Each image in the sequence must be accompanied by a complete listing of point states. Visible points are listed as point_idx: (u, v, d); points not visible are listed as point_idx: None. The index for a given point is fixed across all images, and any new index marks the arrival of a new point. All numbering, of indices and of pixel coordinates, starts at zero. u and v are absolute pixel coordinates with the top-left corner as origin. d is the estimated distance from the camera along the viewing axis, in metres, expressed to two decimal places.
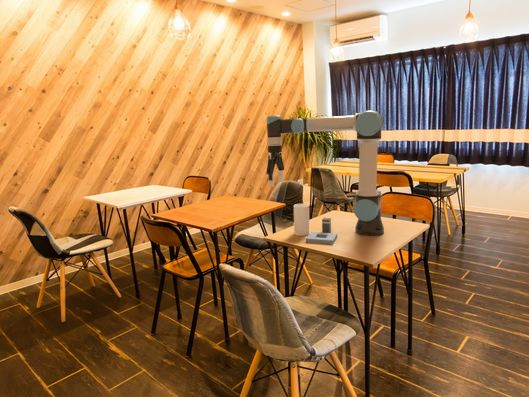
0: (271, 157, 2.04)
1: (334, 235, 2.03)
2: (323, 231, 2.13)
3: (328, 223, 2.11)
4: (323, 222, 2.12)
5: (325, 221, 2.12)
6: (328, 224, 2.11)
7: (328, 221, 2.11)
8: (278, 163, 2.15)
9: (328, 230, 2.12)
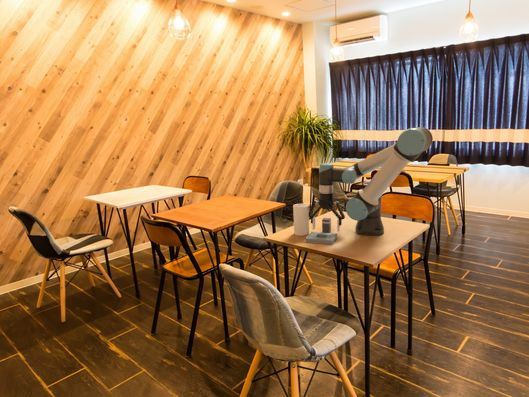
0: None
1: (334, 235, 2.03)
2: (323, 231, 2.13)
3: (328, 223, 2.11)
4: (323, 222, 2.12)
5: (325, 221, 2.12)
6: (328, 224, 2.11)
7: (328, 221, 2.11)
8: None
9: (328, 230, 2.12)
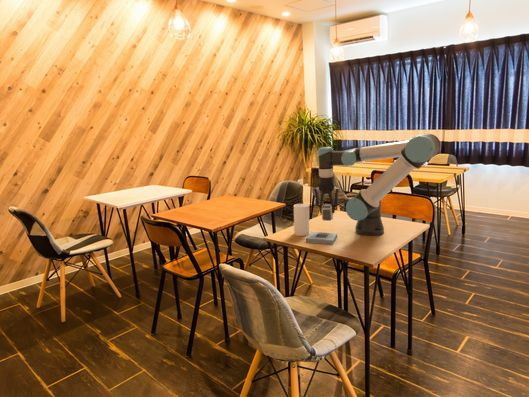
0: None
1: (334, 235, 2.03)
2: (324, 217, 2.11)
3: (329, 209, 2.09)
4: (324, 208, 2.10)
5: (326, 207, 2.10)
6: (329, 210, 2.10)
7: (329, 207, 2.09)
8: None
9: (329, 216, 2.10)
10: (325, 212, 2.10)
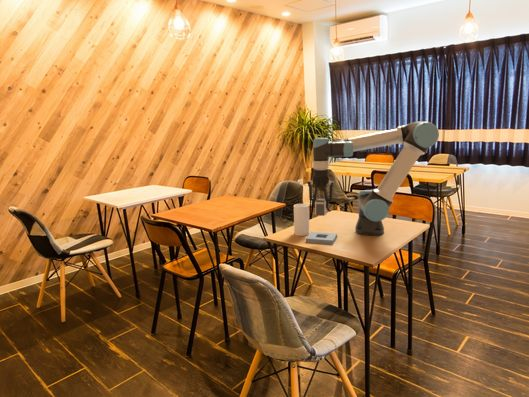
0: None
1: (334, 235, 2.03)
2: (317, 212, 2.00)
3: (322, 204, 1.98)
4: (317, 202, 1.98)
5: (319, 201, 1.98)
6: (322, 205, 1.98)
7: (322, 201, 1.97)
8: None
9: (322, 211, 1.98)
10: (318, 207, 1.99)
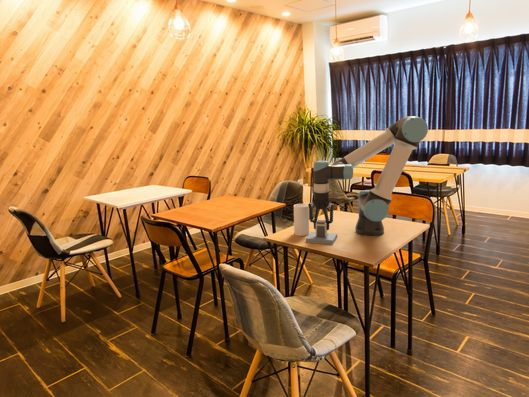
0: None
1: (334, 235, 2.03)
2: (318, 234, 2.02)
3: (323, 226, 2.00)
4: (318, 224, 2.01)
5: (320, 223, 2.00)
6: (323, 227, 2.00)
7: (323, 223, 2.00)
8: None
9: (323, 233, 2.01)
10: (319, 228, 2.01)
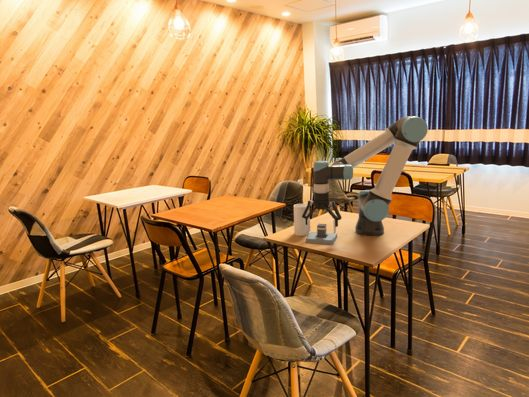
0: None
1: (334, 235, 2.03)
2: None
3: (323, 229, 2.00)
4: (318, 228, 2.01)
5: (320, 227, 2.01)
6: (323, 230, 2.01)
7: (323, 227, 2.00)
8: None
9: (323, 237, 2.01)
10: (319, 232, 2.01)
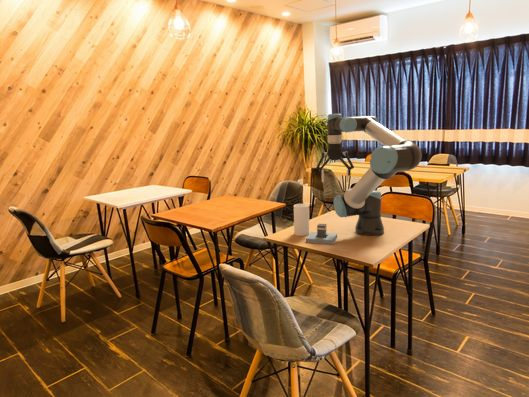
0: (322, 154, 2.14)
1: (334, 235, 2.03)
2: None
3: (323, 229, 2.00)
4: (318, 228, 2.01)
5: (320, 227, 2.01)
6: (323, 230, 2.01)
7: (323, 227, 2.00)
8: (342, 161, 2.13)
9: (323, 237, 2.01)
10: (319, 232, 2.01)
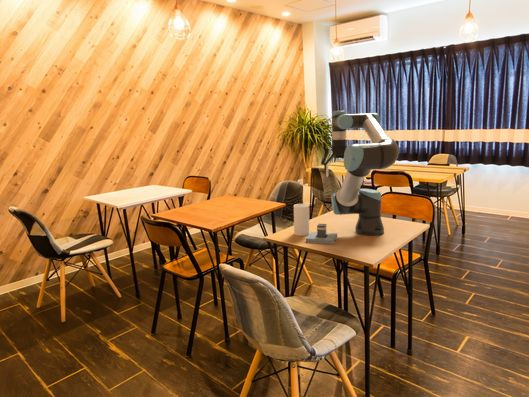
0: None
1: (334, 235, 2.03)
2: None
3: (323, 229, 2.00)
4: (318, 228, 2.01)
5: (320, 227, 2.01)
6: (323, 230, 2.01)
7: (323, 227, 2.00)
8: None
9: (323, 237, 2.01)
10: (319, 232, 2.01)
